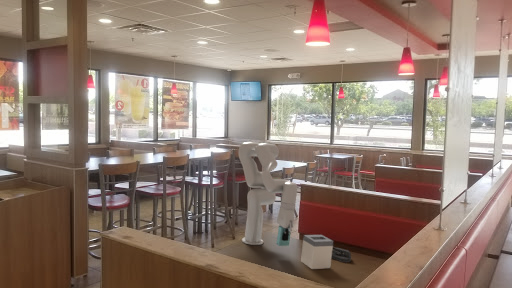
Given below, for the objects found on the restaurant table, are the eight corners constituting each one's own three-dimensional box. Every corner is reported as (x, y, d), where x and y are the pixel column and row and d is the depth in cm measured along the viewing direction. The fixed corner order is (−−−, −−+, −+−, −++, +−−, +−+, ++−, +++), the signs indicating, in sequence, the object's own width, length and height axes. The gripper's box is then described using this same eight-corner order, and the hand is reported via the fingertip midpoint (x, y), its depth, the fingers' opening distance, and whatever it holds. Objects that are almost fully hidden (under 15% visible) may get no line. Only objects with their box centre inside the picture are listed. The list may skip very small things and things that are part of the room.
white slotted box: (300, 261, 208) (303, 235, 208) (318, 260, 213) (321, 234, 212) (311, 269, 198) (314, 241, 198) (330, 268, 203) (333, 241, 202)
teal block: (276, 243, 212) (278, 225, 211) (286, 243, 214) (288, 225, 213) (278, 245, 209) (281, 227, 208) (288, 245, 211) (291, 227, 211)
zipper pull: (313, 237, 234) (354, 248, 220) (312, 248, 234) (353, 259, 220) (306, 239, 227) (348, 251, 212) (305, 251, 227) (347, 263, 213)
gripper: (274, 201, 216) (270, 234, 217) (288, 209, 201) (284, 244, 202) (286, 201, 219) (282, 234, 220) (301, 209, 204) (297, 244, 205)
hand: (283, 238), depth 211 cm, fingers closed on teal block, 3 cm apart
